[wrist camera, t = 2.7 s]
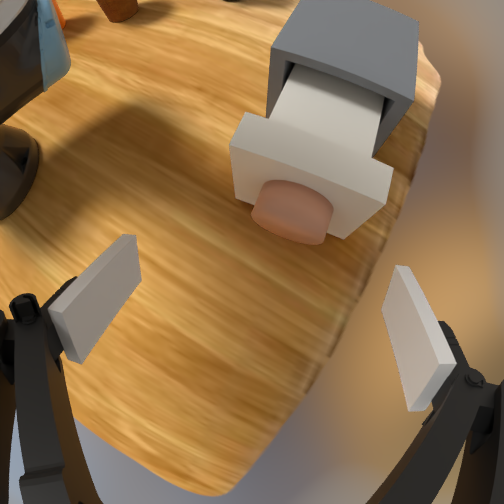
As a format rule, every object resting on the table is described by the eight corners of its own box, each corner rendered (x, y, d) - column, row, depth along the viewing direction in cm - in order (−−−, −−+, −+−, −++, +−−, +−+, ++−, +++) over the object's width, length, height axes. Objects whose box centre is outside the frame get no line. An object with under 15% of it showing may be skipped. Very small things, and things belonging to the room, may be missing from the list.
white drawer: (335, 264, 34) (376, 239, 22) (225, 222, 35) (213, 177, 23) (375, 120, 38) (409, 63, 26) (286, 86, 39) (296, 21, 27)
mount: (367, 165, 37) (413, 101, 23) (264, 126, 38) (270, 47, 24) (385, 85, 40) (418, 21, 26) (300, 53, 41) (312, -18, 27)
